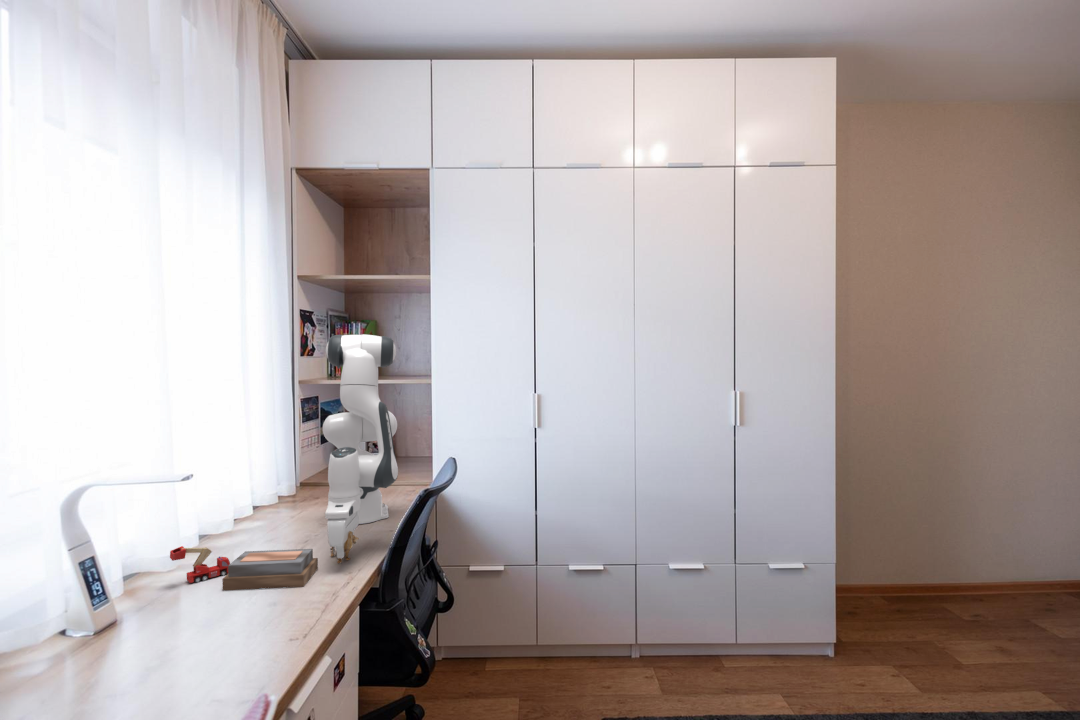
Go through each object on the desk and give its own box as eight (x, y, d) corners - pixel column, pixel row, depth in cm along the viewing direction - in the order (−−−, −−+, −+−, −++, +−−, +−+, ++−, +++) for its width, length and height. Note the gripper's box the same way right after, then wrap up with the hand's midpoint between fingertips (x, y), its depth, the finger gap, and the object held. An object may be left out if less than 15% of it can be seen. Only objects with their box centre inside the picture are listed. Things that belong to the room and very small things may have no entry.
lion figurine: (360, 562, 160) (360, 531, 159) (343, 567, 156) (342, 535, 156) (338, 549, 170) (338, 520, 170) (321, 553, 166) (320, 524, 166)
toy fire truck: (231, 573, 152) (231, 539, 152) (173, 589, 142) (172, 552, 142) (228, 570, 154) (227, 536, 154) (170, 585, 145) (169, 548, 145)
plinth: (243, 571, 153) (242, 549, 153) (317, 568, 155) (317, 546, 155) (222, 590, 141) (222, 566, 141) (303, 586, 143) (303, 562, 143)
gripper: (342, 495, 171) (343, 540, 171) (323, 514, 151) (323, 565, 151) (363, 495, 172) (364, 539, 172) (346, 514, 152) (347, 564, 152)
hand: (345, 551), depth 161 cm, fingers open, 8 cm apart
